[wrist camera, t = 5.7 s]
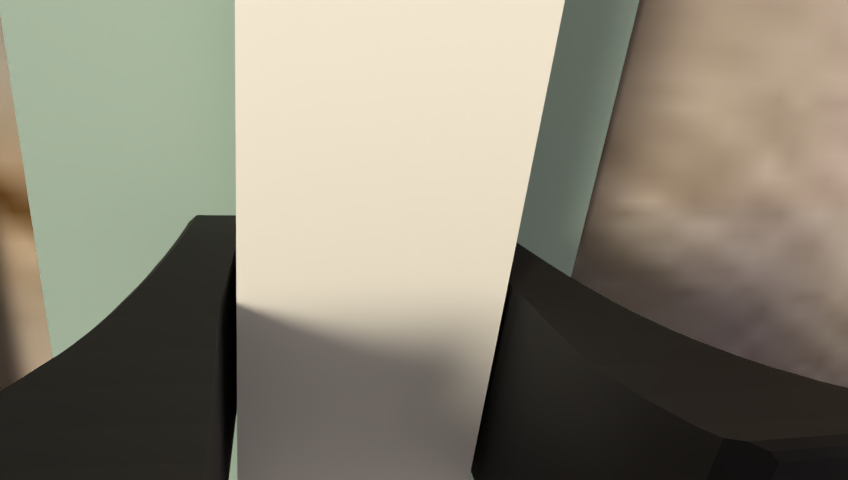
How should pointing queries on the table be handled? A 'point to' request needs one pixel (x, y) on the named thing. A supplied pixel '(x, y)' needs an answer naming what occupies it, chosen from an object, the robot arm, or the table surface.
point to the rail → (377, 225)
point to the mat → (222, 137)
